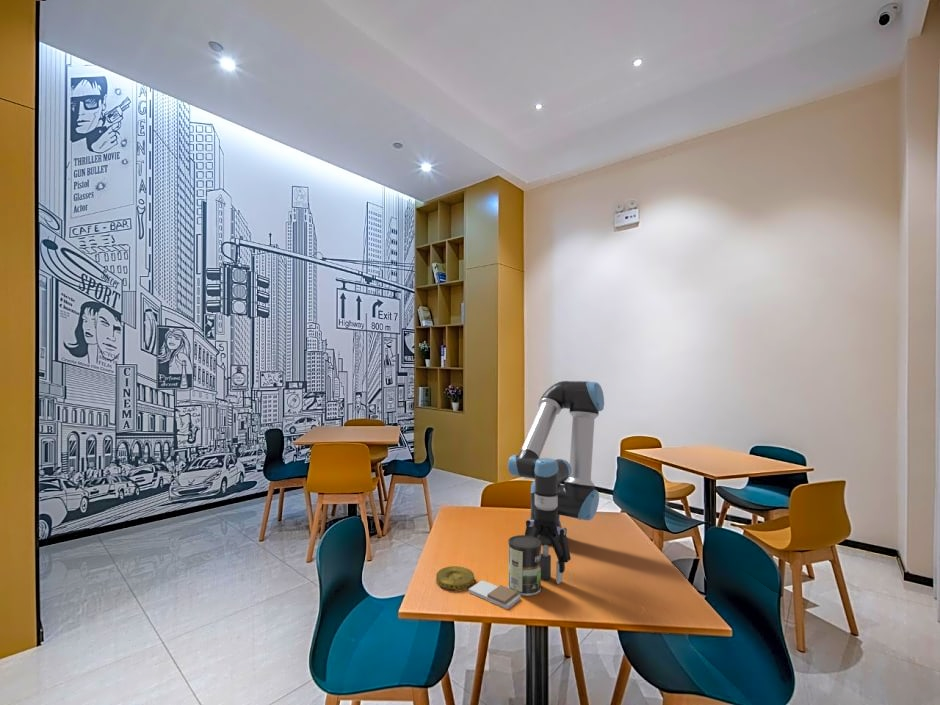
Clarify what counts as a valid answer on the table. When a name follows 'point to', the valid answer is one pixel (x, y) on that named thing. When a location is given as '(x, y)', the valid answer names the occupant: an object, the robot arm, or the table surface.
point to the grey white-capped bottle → (545, 563)
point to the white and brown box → (495, 594)
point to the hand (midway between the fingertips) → (545, 577)
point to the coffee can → (524, 565)
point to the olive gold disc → (455, 578)
